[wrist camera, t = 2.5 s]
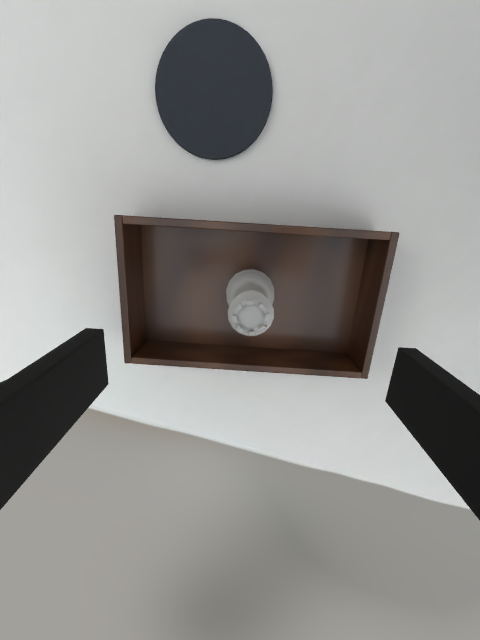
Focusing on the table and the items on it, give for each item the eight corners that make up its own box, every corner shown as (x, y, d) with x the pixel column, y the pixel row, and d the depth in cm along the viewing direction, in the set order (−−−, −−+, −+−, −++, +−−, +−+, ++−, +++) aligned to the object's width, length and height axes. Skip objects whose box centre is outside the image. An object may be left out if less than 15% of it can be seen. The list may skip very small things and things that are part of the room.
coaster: (286, 40, 22) (286, 37, 21) (255, 171, 24) (256, 171, 24) (166, 6, 21) (164, 2, 21) (149, 144, 24) (147, 142, 24)
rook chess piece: (245, 324, 28) (244, 360, 21) (216, 287, 27) (204, 311, 20) (283, 297, 27) (297, 325, 20) (255, 258, 26) (258, 272, 19)
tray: (376, 231, 26) (399, 232, 22) (351, 357, 29) (367, 379, 25) (134, 216, 26) (113, 214, 22) (141, 344, 30) (124, 363, 26)
